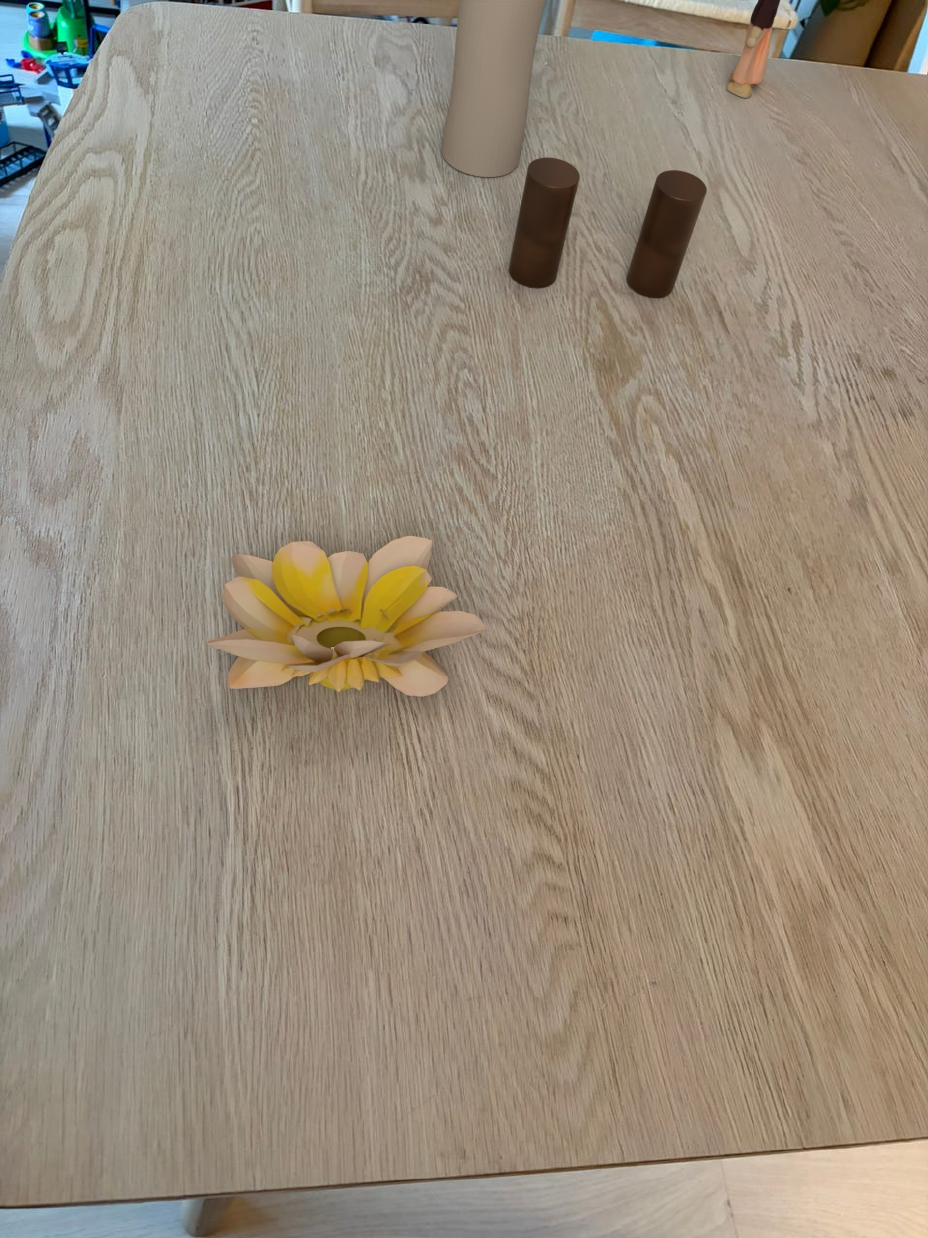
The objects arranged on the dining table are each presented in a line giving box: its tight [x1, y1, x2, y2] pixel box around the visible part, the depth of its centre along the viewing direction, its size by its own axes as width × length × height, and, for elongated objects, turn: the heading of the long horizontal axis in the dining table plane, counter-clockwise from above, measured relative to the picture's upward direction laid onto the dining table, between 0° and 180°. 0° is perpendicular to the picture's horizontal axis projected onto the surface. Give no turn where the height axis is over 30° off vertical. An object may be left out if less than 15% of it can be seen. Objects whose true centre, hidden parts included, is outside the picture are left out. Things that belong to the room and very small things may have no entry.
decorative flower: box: [203, 535, 487, 698], centre depth 58 cm, size 15×11×10 cm
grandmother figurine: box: [726, 0, 781, 99], centre depth 103 cm, size 8×4×13 cm, turn 171°
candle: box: [440, 0, 547, 178], centre depth 88 cm, size 7×14×20 cm, turn 172°
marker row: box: [508, 157, 708, 299], centre depth 82 cm, size 14×4×9 cm, turn 92°
